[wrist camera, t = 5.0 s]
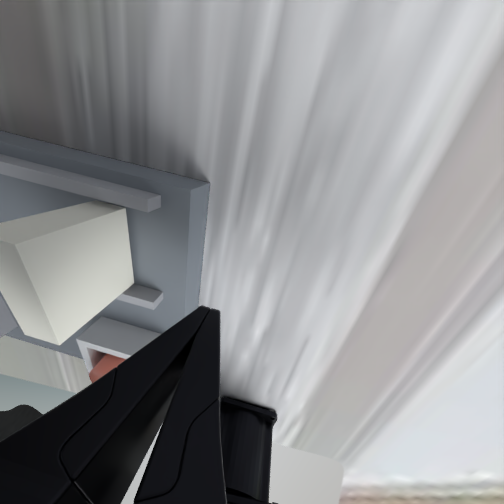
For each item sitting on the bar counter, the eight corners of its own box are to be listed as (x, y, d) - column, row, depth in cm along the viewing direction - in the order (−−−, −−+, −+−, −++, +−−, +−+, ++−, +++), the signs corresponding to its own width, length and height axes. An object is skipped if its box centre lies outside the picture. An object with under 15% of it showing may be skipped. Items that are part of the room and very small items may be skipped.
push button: (162, 346, 14) (140, 379, 12) (163, 375, 16) (144, 408, 14) (113, 331, 15) (83, 361, 12) (119, 362, 16) (95, 392, 14)
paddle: (125, 208, 10) (15, 244, 6) (134, 282, 12) (59, 345, 8) (95, 200, 10) (-34, 231, 6) (110, 276, 12) (25, 334, 8)
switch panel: (210, 183, 11) (166, 198, 7) (192, 362, 20) (168, 415, 16) (-93, 107, 12) (-279, 84, 8) (16, 310, 21) (-48, 347, 17)
